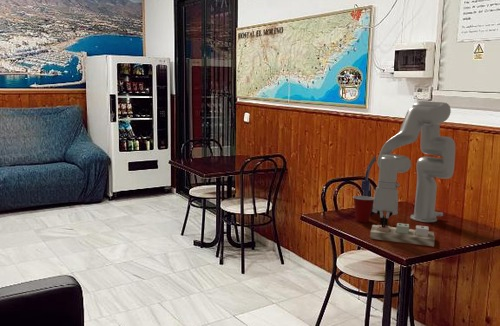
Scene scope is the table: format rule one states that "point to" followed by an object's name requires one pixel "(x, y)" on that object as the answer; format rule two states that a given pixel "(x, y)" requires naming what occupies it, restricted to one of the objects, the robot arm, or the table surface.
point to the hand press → (367, 181)
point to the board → (402, 236)
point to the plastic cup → (363, 207)
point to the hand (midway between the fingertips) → (383, 226)
